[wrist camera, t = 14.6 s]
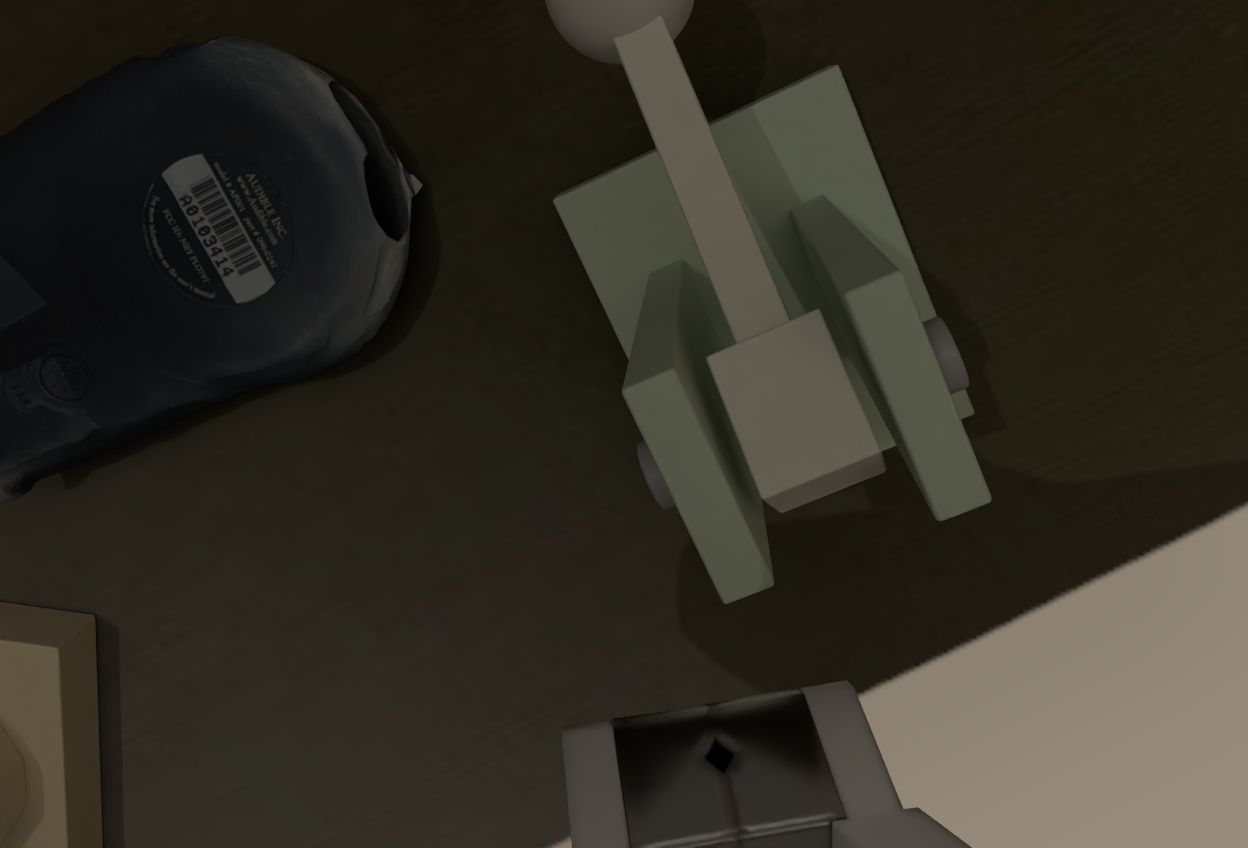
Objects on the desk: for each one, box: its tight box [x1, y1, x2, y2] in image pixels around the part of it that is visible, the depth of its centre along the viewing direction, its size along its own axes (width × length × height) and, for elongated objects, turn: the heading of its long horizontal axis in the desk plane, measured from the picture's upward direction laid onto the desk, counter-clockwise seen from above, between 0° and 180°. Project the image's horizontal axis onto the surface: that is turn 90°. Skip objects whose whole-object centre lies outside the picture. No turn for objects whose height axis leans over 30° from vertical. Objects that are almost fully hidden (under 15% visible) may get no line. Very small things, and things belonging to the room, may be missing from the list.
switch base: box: [553, 65, 991, 604], centre depth 25 cm, size 10×8×13 cm
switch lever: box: [545, 0, 886, 513], centre depth 22 cm, size 13×3×3 cm
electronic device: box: [0, 36, 423, 502], centre depth 30 cm, size 9×6×15 cm
